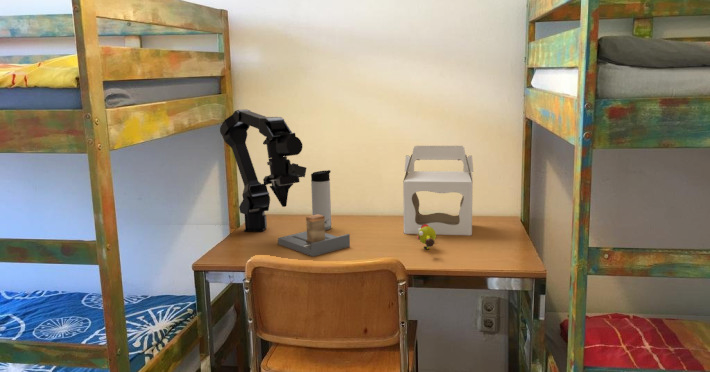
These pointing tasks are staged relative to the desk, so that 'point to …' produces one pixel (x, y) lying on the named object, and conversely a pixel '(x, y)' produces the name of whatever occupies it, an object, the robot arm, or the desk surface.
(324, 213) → the travel mug
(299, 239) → the console
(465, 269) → the desk surface
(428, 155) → the gable box
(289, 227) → the desk surface
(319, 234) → the block
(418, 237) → the toy figure
